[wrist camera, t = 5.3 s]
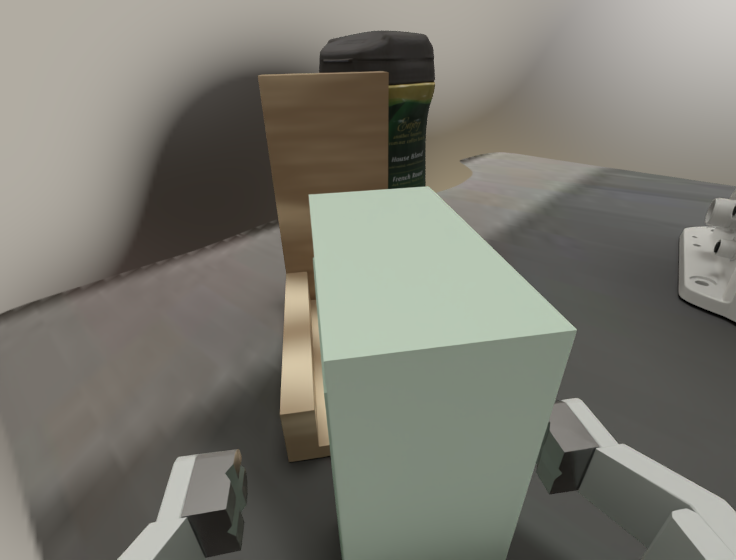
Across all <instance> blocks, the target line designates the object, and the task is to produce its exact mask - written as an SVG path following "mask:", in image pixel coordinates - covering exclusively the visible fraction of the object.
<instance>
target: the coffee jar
mask: <svg viewBox="0 0 736 560" xmlns="http://www.w3.org/2000/svg"><path fill="white" fill-rule="evenodd" d="M374 71H384V72H389V94H388V189H398V188H412V187H425V138H426V125H427V116H428V111H429V106H430V103H431V100H432V97H433V93H434V88H435V82H434V80H435V73H434V54H433V47H432V45H431V43H430V41H429V39H428V37H427V36H426V35H424V34H418V33H409V32H400V31H371V32H364V33H359V34H353V35H349V36H344V37H339V38H335V39H331V40H329V41H328V43H327V45H326V46H325V47H324V48H323V49H322V50H321V52H320V66H319V73H339V72H374Z"/></svg>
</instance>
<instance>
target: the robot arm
mask: <svg viewBox="0 0 736 560" xmlns="http://www.w3.org/2000/svg"><path fill="white" fill-rule="evenodd" d="M705 224H707V225H708V226H714V227H691V228H685V229H684V230H683V232H682V234H681V236H680V241H679V295H680V297H681V298H683V299H684V300H686V301H688V302H690V303H692V304H694V305H696V306H699V307H701V308H704V309H706V310H709V311H711V312H714V313H717V314H719V315H722V316H725V317H727V318H729V319H731V320H733V321H735V322H736V190H735V191H734V192H733V194H732V195H731V197H730V199H723V198H717V199H714V200H713V201H712V203H711V205H710V207H709V209H708V212H707V215H706V218H705ZM536 464H537V470H536V473H537V474H538V476H539V478H540V479H541V481H542V483H543V484H544V486H545V488H546V490H547V491H548V493H549V494H555V493H562V492H568V491H575V490H578V492H579V493H580V494H581V495H583V496H584V497H585V498H586V499H587V500H589V501H590V502H591V503H592V504H594V505H595V506H596V507H597V508H599V509H600V510H601V511H602V512H604V513H605V514H606V515H607V516H609V517H610V518H611V519H612V520H614V521H615V522H616V523H617V524H618V525H620V526H621V527H622V528H623V529H625V530H626V531H627V532H628V533H630V534H631V535H632V536H633V537H635V538H636V539H637V540H638V541H640V542H641V543H642V544H643V545H645V546H646V547H647V548H648V549H647V551H646V552H645V554H644V555H643V557H642V558H641V560H736V512H735V511H734V509H733V508H732V507H731V506H730V505H729V504H728V503H727V502H726V501H725V500H724V499H722V498H720V497H718V496H716V495H715V494H713V493H711V492H709V491H707V490H706V489H704V488H702V487H700V486H699V485H697V484H695V483H693V482H691V481H690V480H688V479H686V478H684V477H682V476H681V475H679V474H677V473H675V472H673V471H672V470H670V469H668V468H666V467H664V466H663V465H661V464H659V463H657V462H656V461H654V460H652V459H650V458H648V457H647V456H645V455H643V454H641V453H639V452H638V451H636V450H634V449H632V448H630V447H629V446H627V445H625V444H618V443H617V442H616V441H615V439H614V438H613V437H612V436H611V435H610V433H609V432H608V431H607V430H606V429H605V428H604V426H603V425H602V424H601V423H600V422H599V420H598V419H597V418H596V417H595V416H594V414H593V413H592V412H591V411H590V410H589V409H588V407H587V406H586V405H585V404H584V403H583V401H582V400H580V399H578V398H572V399H566V400H560V401H559V400H557V401H555V403H554V406H553V409H552V412H551V415H550V419H549V422H548V425H547V428H546V431H545V435H544V438H543V441H542V444H541V448H540V451H539V454H538V457H537V460H536ZM246 503H247V475H246V471H245V468H244V467H243V466H241V454H240V451H239V449H237V450H229V451H221V452H213V453H205V454H196V455H189V456H182V457H178V458H177V460H176V461H175V463H174V465H173V468H172V471H171V475H170V478H169V481H168V484H167V488H166V491H165V494H164V498H163V501H162V504H161V507H160V511H159V514H158V517H157V521H156V522H154V523H150V524H149V525H148V526H147V527H146V528H145V529H144V530H143V531H142V533H141V534H140V535H139V536H138V537H137V538H136V539H135V540H134V542H133V543H132V544H131V545H130V546H129V547H128V548H127V549H126V551H125V552H124V553H123V554H122V555H121V556H120V557H119V558H118V560H206V558H207V557H212V556H217V555H221V554H226V553H231V552H236V551H240V550H241V547H242V538H243V530H244V520H243V517H242V514H241V512H242V510H243V509H244V507H245V506H246Z"/></svg>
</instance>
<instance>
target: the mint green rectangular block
mask: <svg viewBox="0 0 736 560" xmlns="http://www.w3.org/2000/svg"><path fill="white" fill-rule="evenodd" d="M309 205H310V216H311V227H312V238H313V249H314V258H313V268H314V280H315V292H316V304H317V316H318V328H319V340H320V352H321V364H322V376H323V388H324V399H325V408H326V417H327V427H328V436H329V445H330V454H331V464H332V473H333V482H334V491H335V501H336V510H337V519H338V529H339V538H340V547H341V556H342V560H506V557H507V554H508V550H509V547H510V544H511V541H512V537H513V534H514V531H515V528H516V525H517V521H518V518H519V515H520V512H521V509H522V505H523V502H524V499H525V496H526V492H527V489H528V486H529V483H530V480H531V476H532V473H533V470H534V467H535V464H536V460H537V457H538V454H539V451H540V448H541V444H542V441H543V438H544V435H545V431H546V428H547V425H548V422H549V419H550V415H551V412H552V409H553V406H554V403H555V399H556V396H557V393H558V390H559V386H560V383H561V380H562V377H563V374H564V370H565V367H566V364H567V361H568V358H569V354H570V351H571V348H572V345H573V342H574V338H575V335H576V332H577V329H576V328H575V327H574V326H572V325H571V324H570V323H569V322H568V321H567V320H566V319H565V318H564V317H563V316H562V315H561V314H560V313H559V312H558V311H557V310H556V309H555V308H554V307H553V306H552V305H551V304H550V303H549V302H548V301H547V300H546V299H545V298H544V297H543V296H541V295H540V294H539V293H538V292H537V291H536V290H535V289H534V288H533V287H532V286H531V285H530V284H529V283H528V282H527V281H526V280H525V279H524V278H523V277H522V276H521V275H520V274H519V273H518V272H517V271H516V270H515V269H514V268H513V267H512V266H510V265H509V264H508V263H507V262H506V261H505V260H504V259H503V258H502V257H501V256H500V255H499V254H498V253H497V252H496V251H495V250H494V249H493V248H492V247H491V246H490V245H489V244H488V243H487V242H486V241H485V240H484V239H483V238H482V237H481V236H479V235H478V234H477V233H476V232H475V231H474V230H473V229H472V228H471V227H470V226H469V225H468V224H467V223H466V222H465V221H464V220H463V219H462V218H461V217H460V216H459V215H458V214H457V213H456V212H455V211H454V210H453V209H452V208H451V207H449V206H448V205H447V204H446V203H445V202H444V201H443V200H442V199H441V198H440V197H439V196H438V195H437V194H436V193H435V192H434V191H433V190H432V189H431V188H430V187H429V186H427V187H412V188H398V189H383V190H369V191H354V192H340V193H325V194H311V195H309Z"/></svg>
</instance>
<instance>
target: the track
mask: <svg viewBox="0 0 736 560" xmlns="http://www.w3.org/2000/svg"><path fill="white" fill-rule="evenodd" d="M258 81H259V88H260V94H261V101H262V108H263V115H264V122H265V129H266V136H267V142H268V149H269V157H270V164H271V171H272V177H273V184H274V192H275V198H276V205H277V212H278V219H279V226H280V233H281V240H282V247H283V254H284V261H285V268H286V291H285V313H284V335H283V357H282V380H281V402H280V418H281V423H282V428H283V433H284V438H285V444H286V449H287V454H288V459H289V462H294V461H300V460H307V459H313V458H319V457H326V456H331V454H330V445H329V436H328V427H327V417H326V408H325V399H324V388H323V376H322V364H321V352H320V340H319V328H318V316H317V304H316V292H315V280H314V268H313V258H314V249H313V238H312V227H311V216H310V205H309V195H311V194H325V193H340V192H354V191H369V190H383V189H388V94H389V72H384V71H374V72H339V73H307V74H306V73H304V74H270V75H259V76H258Z"/></svg>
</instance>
